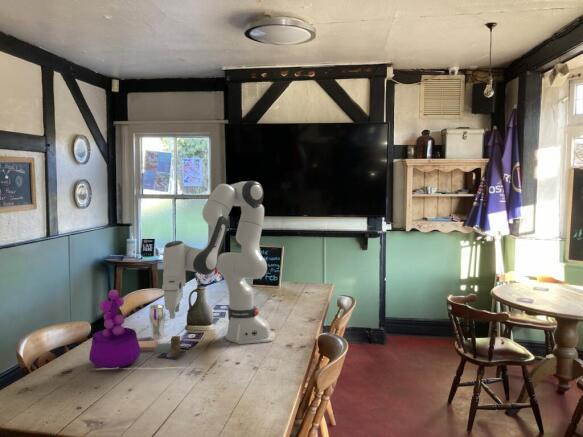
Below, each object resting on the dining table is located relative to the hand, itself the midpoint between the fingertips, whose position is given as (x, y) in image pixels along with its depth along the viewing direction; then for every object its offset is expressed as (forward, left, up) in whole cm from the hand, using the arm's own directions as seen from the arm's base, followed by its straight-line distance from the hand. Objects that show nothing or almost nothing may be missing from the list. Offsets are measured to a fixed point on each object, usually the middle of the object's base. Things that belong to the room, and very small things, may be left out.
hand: (174, 314), depth 196 cm
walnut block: (0, 0, -18) cm, 18 cm away
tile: (+9, -8, -16) cm, 20 cm away
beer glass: (+12, -22, -18) cm, 31 cm away
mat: (+12, -8, -18) cm, 23 cm away
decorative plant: (+22, +7, -18) cm, 29 cm away
